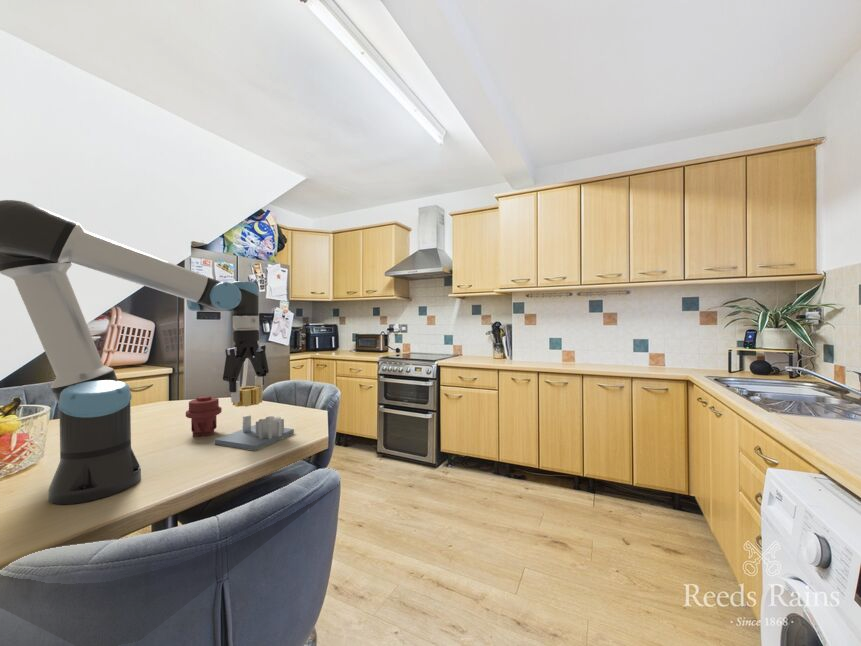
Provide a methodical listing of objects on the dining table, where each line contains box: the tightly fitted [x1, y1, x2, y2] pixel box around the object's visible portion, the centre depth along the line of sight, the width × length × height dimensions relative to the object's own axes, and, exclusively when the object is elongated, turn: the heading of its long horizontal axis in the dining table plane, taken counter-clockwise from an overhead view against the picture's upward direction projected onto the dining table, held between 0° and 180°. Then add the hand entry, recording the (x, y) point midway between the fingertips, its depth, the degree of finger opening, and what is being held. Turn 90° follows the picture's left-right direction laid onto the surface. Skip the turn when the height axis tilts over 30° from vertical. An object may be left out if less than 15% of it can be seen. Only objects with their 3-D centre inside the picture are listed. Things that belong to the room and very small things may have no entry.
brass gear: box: [232, 385, 263, 408], centre depth 114 cm, size 8×8×5 cm
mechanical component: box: [185, 395, 223, 437], centre depth 117 cm, size 12×10×10 cm
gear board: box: [214, 414, 295, 452], centre depth 112 cm, size 16×17×7 cm
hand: (247, 398), depth 114 cm, fingers closed on brass gear, 8 cm apart
